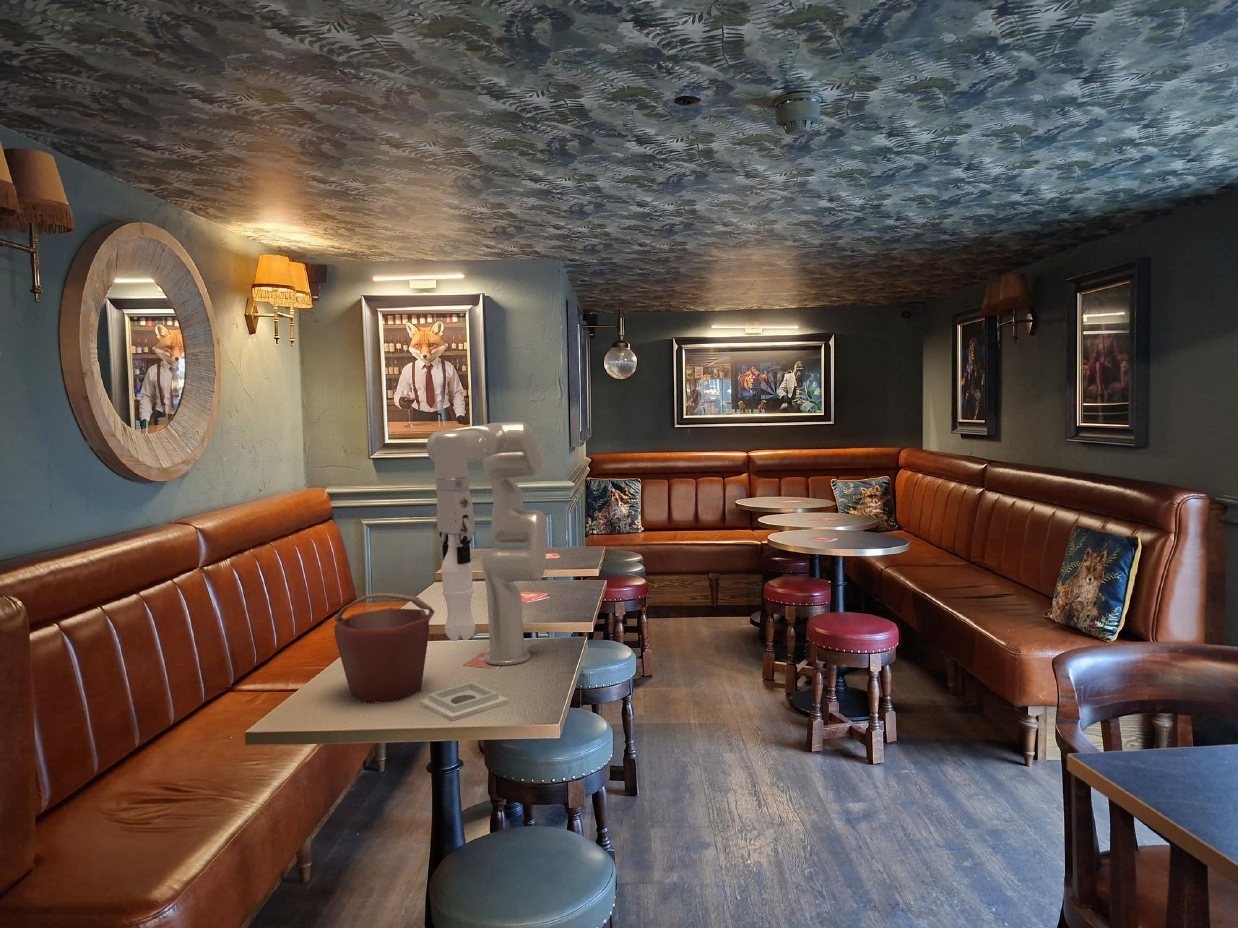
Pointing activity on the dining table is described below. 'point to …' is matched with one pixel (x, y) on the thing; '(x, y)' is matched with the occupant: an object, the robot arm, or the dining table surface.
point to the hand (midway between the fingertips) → (456, 560)
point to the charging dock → (462, 701)
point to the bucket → (384, 649)
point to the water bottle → (457, 594)
